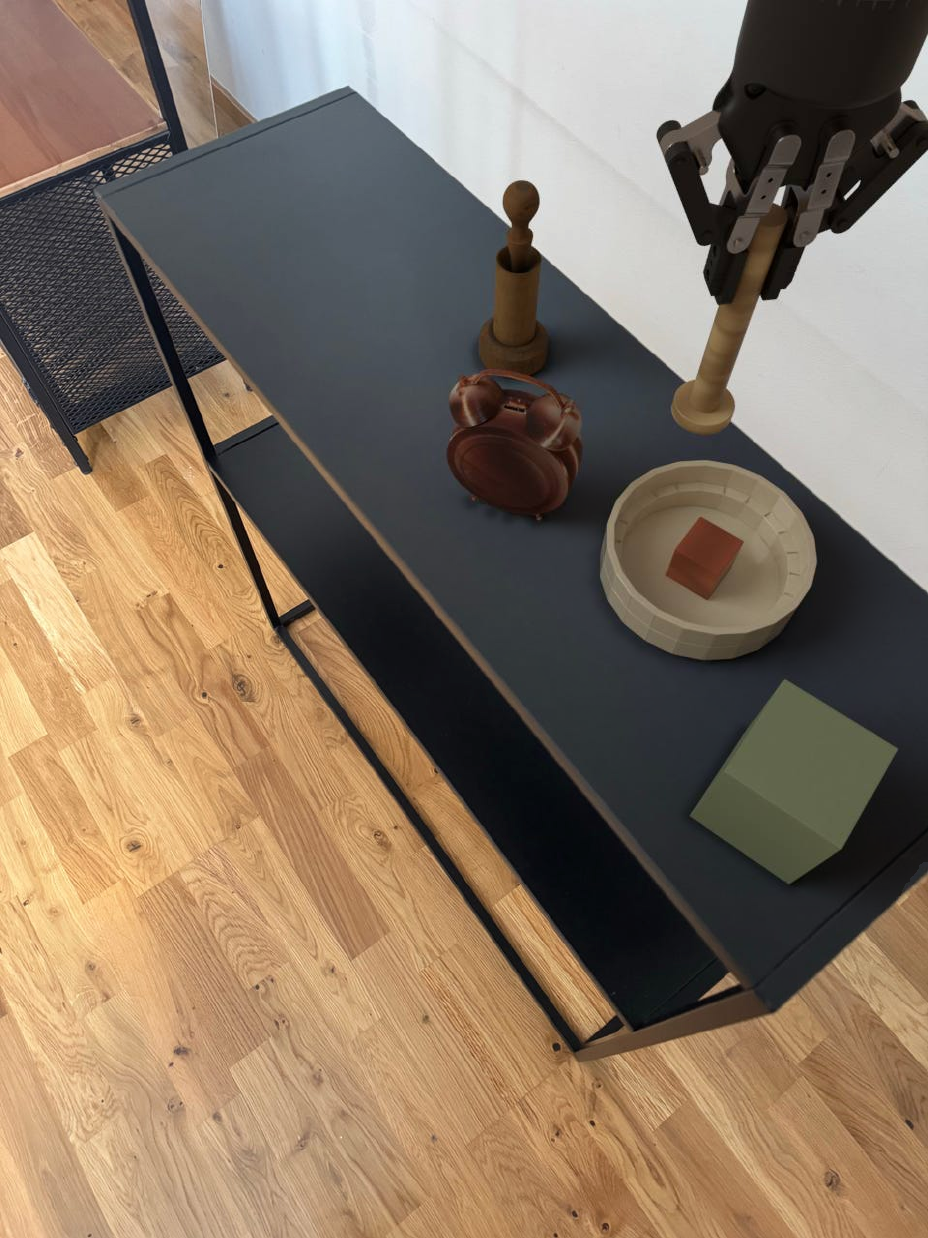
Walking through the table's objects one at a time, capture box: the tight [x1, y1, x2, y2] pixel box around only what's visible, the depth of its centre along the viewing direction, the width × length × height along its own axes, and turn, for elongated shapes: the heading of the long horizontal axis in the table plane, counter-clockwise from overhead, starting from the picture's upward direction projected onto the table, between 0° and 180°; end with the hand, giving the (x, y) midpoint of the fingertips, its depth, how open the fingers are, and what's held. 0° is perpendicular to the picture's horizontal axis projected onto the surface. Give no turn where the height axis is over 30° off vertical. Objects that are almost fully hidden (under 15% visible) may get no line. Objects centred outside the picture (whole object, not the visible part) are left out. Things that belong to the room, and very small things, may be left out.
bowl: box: [599, 459, 818, 661], centre depth 71 cm, size 16×16×5 cm
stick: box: [670, 202, 788, 436], centre depth 52 cm, size 4×4×15 cm
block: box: [666, 517, 744, 600], centre depth 71 cm, size 4×4×4 cm
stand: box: [689, 678, 899, 885], centre depth 60 cm, size 8×8×10 cm
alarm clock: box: [445, 368, 584, 521], centre depth 71 cm, size 11×5×15 cm, turn 69°
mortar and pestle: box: [478, 179, 549, 376], centre depth 78 cm, size 7×6×18 cm
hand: (742, 291), depth 50 cm, fingers closed on stick, 2 cm apart
